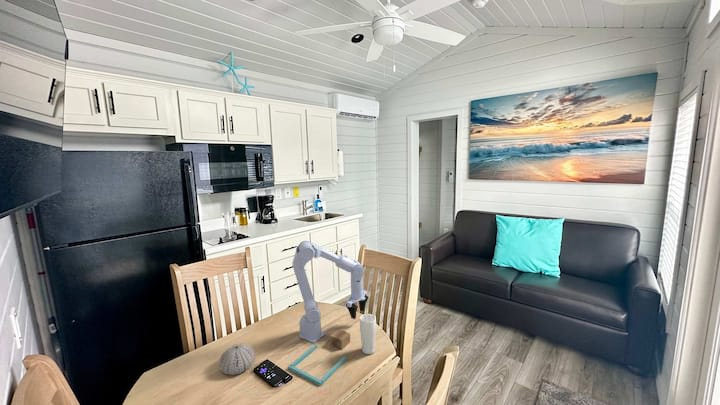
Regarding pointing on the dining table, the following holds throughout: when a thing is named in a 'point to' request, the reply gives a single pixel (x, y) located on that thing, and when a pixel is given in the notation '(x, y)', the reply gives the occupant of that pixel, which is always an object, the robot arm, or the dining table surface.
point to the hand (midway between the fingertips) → (357, 314)
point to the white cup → (368, 333)
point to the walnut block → (340, 339)
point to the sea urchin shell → (237, 359)
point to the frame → (308, 376)
